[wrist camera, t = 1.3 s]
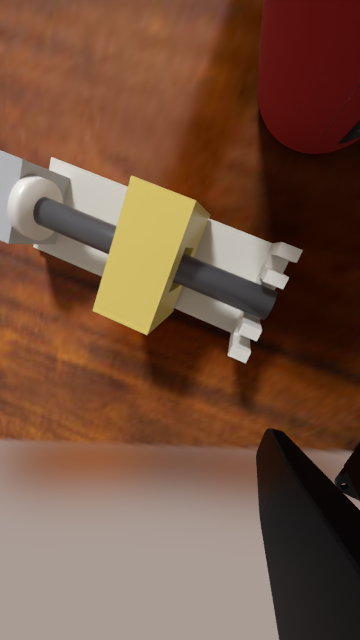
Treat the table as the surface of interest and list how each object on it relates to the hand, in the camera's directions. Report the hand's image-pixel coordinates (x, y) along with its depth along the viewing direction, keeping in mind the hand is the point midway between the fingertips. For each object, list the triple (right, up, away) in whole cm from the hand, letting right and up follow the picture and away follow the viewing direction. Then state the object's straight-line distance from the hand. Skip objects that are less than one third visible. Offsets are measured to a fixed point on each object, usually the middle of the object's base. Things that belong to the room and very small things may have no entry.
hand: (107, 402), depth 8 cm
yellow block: (+1, +6, +11) cm, 12 cm away
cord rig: (0, +7, +11) cm, 13 cm away
